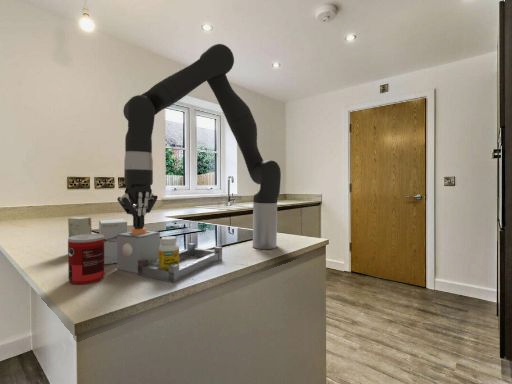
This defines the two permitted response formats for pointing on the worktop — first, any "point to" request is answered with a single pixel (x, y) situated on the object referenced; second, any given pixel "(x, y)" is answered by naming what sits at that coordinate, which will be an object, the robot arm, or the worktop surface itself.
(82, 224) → the skincare box
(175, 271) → the grey rectangular tray
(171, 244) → the supplement bottle
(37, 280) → the worktop surface
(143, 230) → the brown egg
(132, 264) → the cabinet
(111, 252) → the supplement box
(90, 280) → the canned food
